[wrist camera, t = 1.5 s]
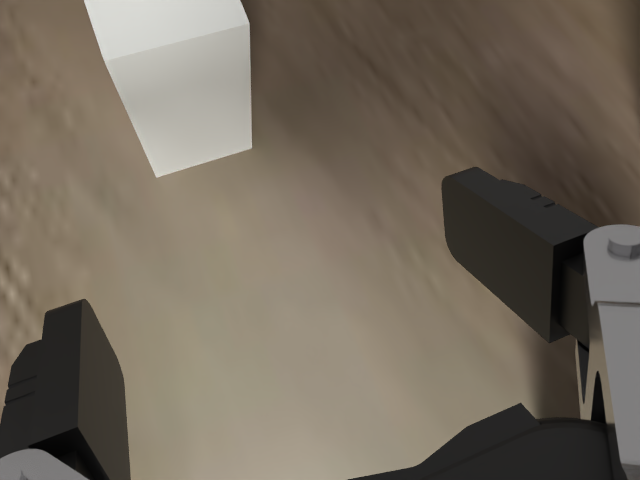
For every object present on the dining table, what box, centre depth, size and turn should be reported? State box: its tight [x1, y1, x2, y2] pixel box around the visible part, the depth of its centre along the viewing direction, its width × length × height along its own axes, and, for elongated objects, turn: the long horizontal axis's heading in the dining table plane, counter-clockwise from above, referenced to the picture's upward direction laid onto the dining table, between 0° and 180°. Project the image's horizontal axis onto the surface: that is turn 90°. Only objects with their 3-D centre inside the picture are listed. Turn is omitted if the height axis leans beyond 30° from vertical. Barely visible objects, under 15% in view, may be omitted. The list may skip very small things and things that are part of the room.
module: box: [84, 0, 252, 177], centre depth 24 cm, size 5×4×10 cm
